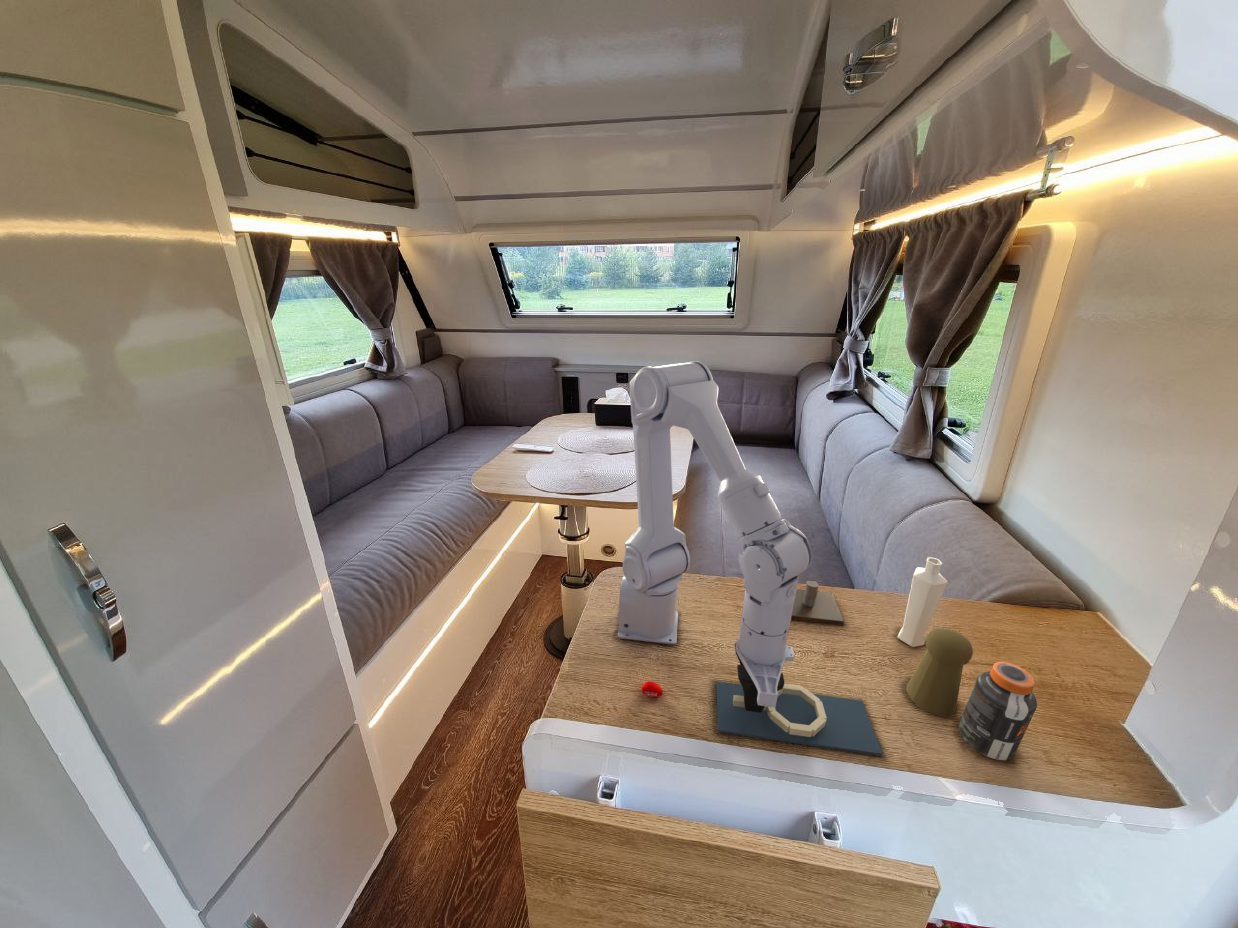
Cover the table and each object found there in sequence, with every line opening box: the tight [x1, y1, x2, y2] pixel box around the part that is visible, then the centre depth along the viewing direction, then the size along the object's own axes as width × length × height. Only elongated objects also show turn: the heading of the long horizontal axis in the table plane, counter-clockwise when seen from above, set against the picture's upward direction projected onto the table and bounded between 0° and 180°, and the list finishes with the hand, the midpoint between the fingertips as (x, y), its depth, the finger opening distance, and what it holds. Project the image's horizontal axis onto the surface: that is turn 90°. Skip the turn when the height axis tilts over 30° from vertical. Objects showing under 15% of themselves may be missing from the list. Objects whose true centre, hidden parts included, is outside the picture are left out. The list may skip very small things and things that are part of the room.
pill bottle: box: [958, 661, 1038, 761], centre depth 59 cm, size 6×6×11 cm
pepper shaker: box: [905, 627, 974, 717], centre depth 65 cm, size 6×6×11 cm
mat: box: [715, 681, 884, 757], centre depth 63 cm, size 20×8×1 cm, turn 81°
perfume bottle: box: [897, 556, 949, 648], centre depth 75 cm, size 5×4×15 cm
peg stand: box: [791, 580, 845, 626], centre depth 84 cm, size 14×8×5 cm, turn 81°
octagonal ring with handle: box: [733, 683, 827, 737], centre depth 63 cm, size 12×7×3 cm, turn 81°
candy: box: [641, 680, 664, 698], centre depth 66 cm, size 3×2×2 cm, turn 83°
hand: (752, 701), depth 64 cm, fingers closed on octagonal ring with handle, 2 cm apart
